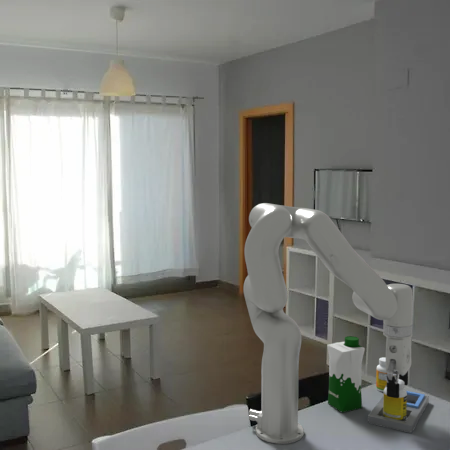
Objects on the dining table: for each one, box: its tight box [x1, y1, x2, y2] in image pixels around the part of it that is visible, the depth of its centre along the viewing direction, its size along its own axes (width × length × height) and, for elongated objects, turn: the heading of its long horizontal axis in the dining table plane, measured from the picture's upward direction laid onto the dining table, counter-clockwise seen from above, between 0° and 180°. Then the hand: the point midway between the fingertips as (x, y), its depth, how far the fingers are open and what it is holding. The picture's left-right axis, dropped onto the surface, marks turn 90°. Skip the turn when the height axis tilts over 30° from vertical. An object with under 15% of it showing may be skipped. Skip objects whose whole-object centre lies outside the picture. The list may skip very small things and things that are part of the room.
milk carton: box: [327, 335, 366, 413], centre depth 162 cm, size 9×9×20 cm
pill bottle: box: [382, 377, 408, 422], centre depth 153 cm, size 6×6×11 cm
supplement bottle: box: [375, 356, 395, 393], centre depth 174 cm, size 5×5×10 cm
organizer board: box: [367, 390, 430, 434], centre depth 158 cm, size 12×22×3 cm, turn 149°
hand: (397, 390), depth 153 cm, fingers open, 9 cm apart
